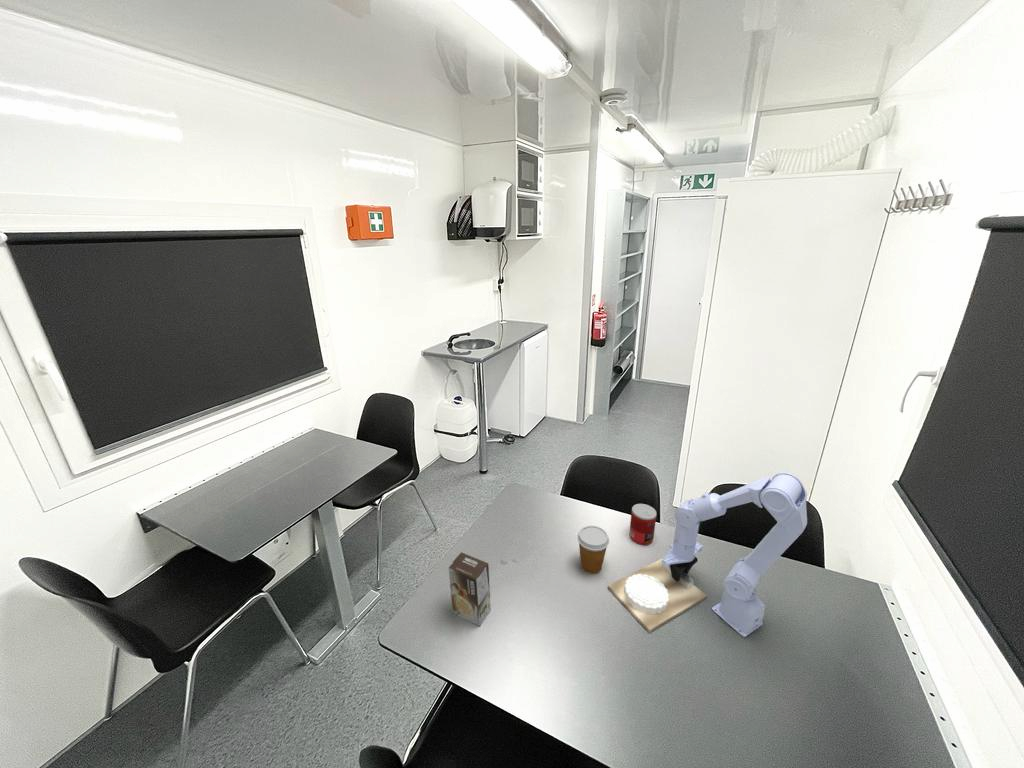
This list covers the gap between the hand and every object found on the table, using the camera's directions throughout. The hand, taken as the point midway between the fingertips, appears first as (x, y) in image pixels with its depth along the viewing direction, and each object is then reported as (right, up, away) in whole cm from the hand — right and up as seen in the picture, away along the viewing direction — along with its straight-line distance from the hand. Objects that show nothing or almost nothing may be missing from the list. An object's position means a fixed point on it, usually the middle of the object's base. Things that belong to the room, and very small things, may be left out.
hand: (678, 577), depth 117 cm
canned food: (-5, +5, +18) cm, 20 cm away
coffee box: (-61, -6, -8) cm, 61 cm away
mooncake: (-12, -4, -5) cm, 13 cm away
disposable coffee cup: (-25, 0, +7) cm, 26 cm away
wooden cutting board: (-8, -3, -3) cm, 9 cm away
